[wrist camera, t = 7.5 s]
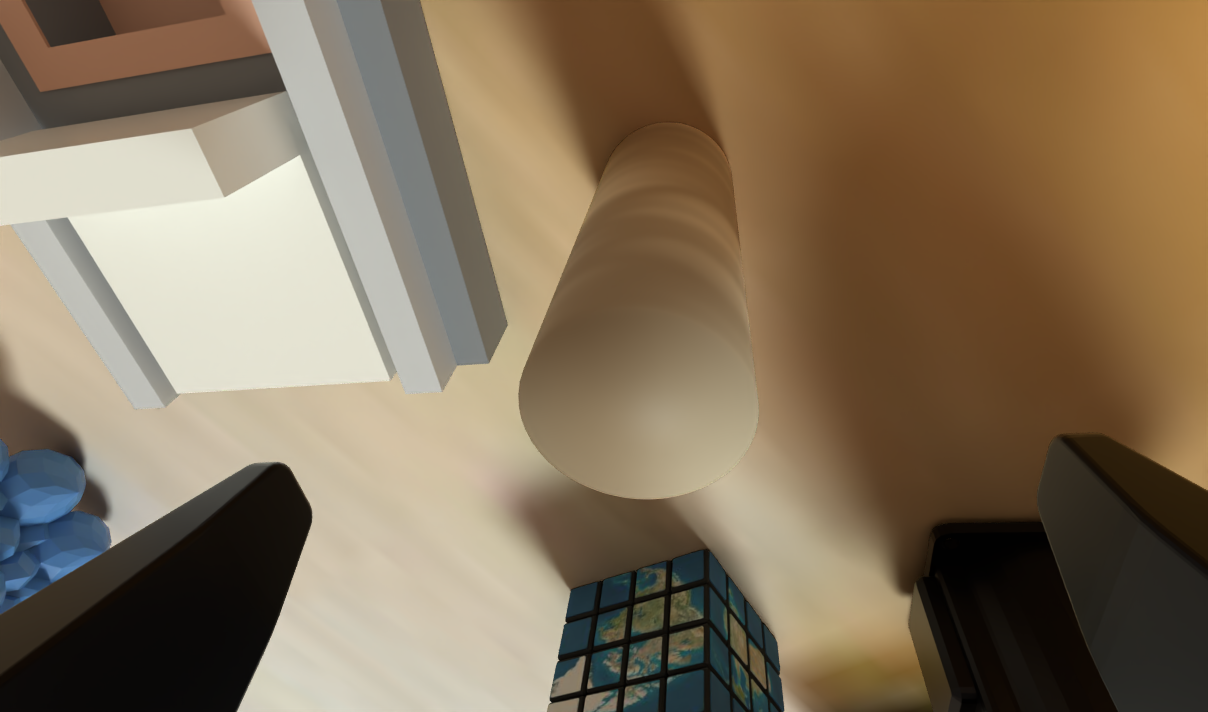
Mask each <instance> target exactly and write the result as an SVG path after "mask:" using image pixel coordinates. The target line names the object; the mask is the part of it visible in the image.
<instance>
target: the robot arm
mask: <svg viewBox="0 0 1208 712" xmlns="http://www.w3.org/2000/svg"><path fill="white" fill-rule="evenodd" d="M1037 505H1038V510H1039V514H1040V517H1041V520H1042V522H1004V523H947V524H941V525H939V526H937V527H935V528H934V529H933V530H932V532H931V534H930V539H929V545H928V552H927V558H926V565H925V571H924V576H920V577H919V578H918V579H917V581H916V582H915V585H914V592H913V598H912V605H911V612H910V619H909V630H910V633H911V637H912V640H913V643H914V647H915V650H916V653H917V657H918V660H919V664H920V667H921V670H922V674H923V677H924V681H925V684H926V687H927V691H928V694H929V698H930V701H931V704H932V708H933V711H934V712H1208V490H1206V489H1204V488H1202V487H1200V486H1198V485H1197V484H1195V483H1193V482H1191V481H1189V480H1188V479H1186V478H1184V477H1182V476H1180V475H1178V474H1177V473H1175V472H1173V471H1171V470H1169V469H1167V468H1166V467H1164V466H1162V465H1160V464H1158V463H1156V462H1155V461H1153V460H1151V459H1149V458H1147V457H1146V456H1144V455H1142V454H1140V453H1138V452H1136V451H1135V450H1133V449H1131V448H1129V447H1127V446H1125V445H1124V444H1122V443H1120V442H1118V441H1116V440H1114V439H1113V438H1111V437H1109V436H1107V435H1104V434H1101V433H1069V434H1060V435H1058V436H1056V437H1054V438H1053V440H1052V441H1051V443H1050V446H1049V449H1048V452H1047V456H1046V460H1045V464H1044V468H1043V471H1042V475H1041V479H1040V483H1039V486H1038V491H1037ZM311 523H312V509H311V506H310V503H309V502H308V500H307V498H306V496H305V494H304V493H303V491H302V489H301V487H300V485H299V483H298V482H297V480H296V478H295V476H294V474H293V472H292V471H291V469H290V468H289V467H288V466H287V465H285V464H284V463H280V462H266V463H254V464H251V465H249V466H247V467H245V468H243V469H242V470H240V471H238V472H237V473H235V474H233V475H232V476H230V477H228V478H227V479H225V480H223V481H222V482H220V483H218V484H217V485H215V486H213V487H212V488H210V489H208V490H207V491H205V492H203V493H202V494H200V495H198V496H197V497H195V498H193V499H192V500H190V501H188V502H187V503H185V504H183V505H182V506H180V507H178V508H177V509H175V510H173V511H172V512H170V513H168V514H167V515H165V516H163V517H162V518H160V519H158V520H157V521H155V522H153V523H152V524H150V525H148V526H147V527H145V528H143V529H142V530H140V531H138V532H137V533H135V534H133V535H132V536H130V537H128V538H127V539H125V540H123V541H122V542H120V543H118V544H117V545H115V546H113V547H112V548H110V549H108V550H107V551H105V552H103V553H102V554H100V555H98V556H97V557H95V558H93V559H92V560H90V561H88V562H87V563H85V564H83V565H82V566H80V567H78V568H77V569H75V570H73V571H72V572H70V573H68V574H67V575H65V576H63V577H62V578H60V579H58V580H57V581H55V582H53V583H52V584H50V585H48V586H47V587H45V588H43V589H42V590H40V591H38V592H37V593H35V594H33V595H32V596H30V597H28V598H27V599H25V600H23V601H22V602H20V603H18V604H17V605H15V606H13V607H12V608H10V609H8V610H7V611H5V612H3V613H2V614H0V712H237V710H238V708H239V706H240V704H241V702H242V699H243V697H244V695H245V693H246V691H247V689H248V686H249V684H250V682H251V680H252V678H253V676H254V673H255V671H256V669H257V667H258V665H259V663H260V660H261V658H262V656H263V654H264V652H265V649H266V647H267V645H268V643H269V640H270V638H271V636H272V633H273V631H274V628H275V625H276V623H277V620H278V618H279V615H280V612H281V609H282V606H283V604H284V601H285V598H286V595H287V592H288V589H289V587H290V584H291V581H292V578H293V575H294V572H295V570H296V567H297V564H298V561H299V558H300V555H301V553H302V550H303V547H304V544H305V541H306V538H307V536H308V533H309V530H310V527H311ZM950 538H951V539H950ZM946 539H947V540H946Z"/></svg>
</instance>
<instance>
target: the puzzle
mask: <svg viewBox="0 0 1208 712" xmlns="http://www.w3.org/2000/svg"><path fill="white" fill-rule="evenodd" d="M565 621H566V622H567V624H565V625H564V629H563V634H562V639H561V644H560V649H559V654H558V659H559V660H560V661H558V662H557V665H556V669H555V674H554V679H553V684H552V689H551V694H550V701H551V702H552V703H550V704H549V705H548V709H547V712H783V711H784V702H783V693H782V683H781V678H780V677H779V674H780V672H779V671H780V664H779V655H778V645H777V641H776V640H775V638H774V637H773V636H772V634H771V633H770V632H769V630H768V629H767V627H766V626H765V625H764V624H762V623H761V620H760V618H759V617H758V615H757V614H756V613H755V611H754V610H753V609H752V607H751V606H750V604H749V603H748V602H746V601H745V600H744V597H743V595H742V594H741V592H740V591H739V590H738V588H737V587H736V586H735V584H734V583H733V582H732V580H731V579H730V577H728V576H727V575H725V571H724V569H723V568H722V567H721V565H720V564H719V563H718V561H717V560H716V559H715V557H714V556H713V554H712V553H711V552H709V551H708V550H707V549H705V550H701V551H697V552H694V553H691V554H687V555H684V556H681V557H677V558H674V559H673V561H672V562H671V561H665V562H662V563H658V564H655V565H652V566H648V567H645V568H641V569H639V570H637V573H636V572H635V571H633V572H629V573H626V574H622V575H619V576H615V577H612V578H608V579H605V580H604V581H603V583H602V582H601V581H600V582H595V583H592V584H589V585H585V586H582V587H579V588H576V589H572V590H571V593H570V598H569V603H568V608H567V613H566V620H565Z"/></svg>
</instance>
